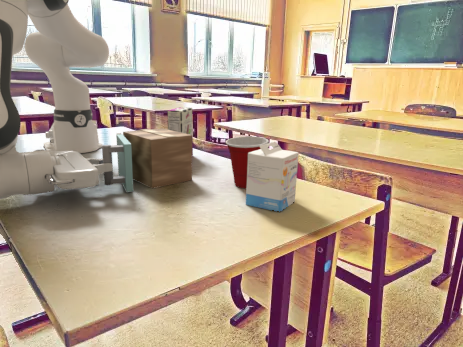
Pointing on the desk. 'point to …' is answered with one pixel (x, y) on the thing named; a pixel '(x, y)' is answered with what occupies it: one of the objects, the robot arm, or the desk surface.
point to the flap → (119, 163)
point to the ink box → (271, 177)
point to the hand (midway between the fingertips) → (109, 164)
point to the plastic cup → (242, 156)
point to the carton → (160, 156)
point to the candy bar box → (181, 121)
